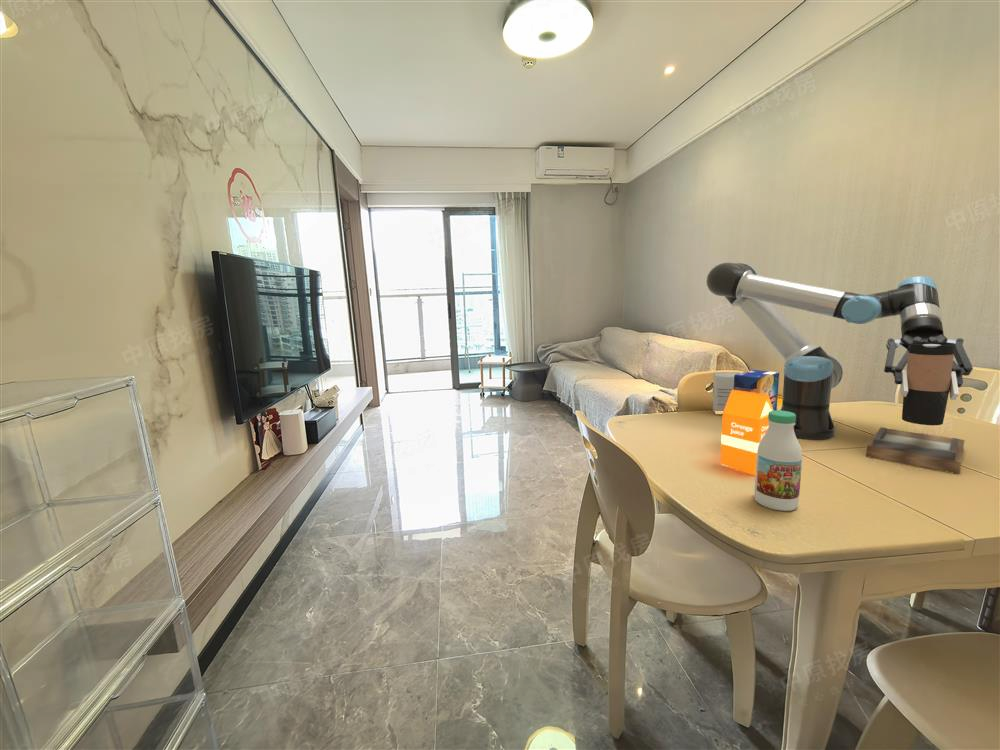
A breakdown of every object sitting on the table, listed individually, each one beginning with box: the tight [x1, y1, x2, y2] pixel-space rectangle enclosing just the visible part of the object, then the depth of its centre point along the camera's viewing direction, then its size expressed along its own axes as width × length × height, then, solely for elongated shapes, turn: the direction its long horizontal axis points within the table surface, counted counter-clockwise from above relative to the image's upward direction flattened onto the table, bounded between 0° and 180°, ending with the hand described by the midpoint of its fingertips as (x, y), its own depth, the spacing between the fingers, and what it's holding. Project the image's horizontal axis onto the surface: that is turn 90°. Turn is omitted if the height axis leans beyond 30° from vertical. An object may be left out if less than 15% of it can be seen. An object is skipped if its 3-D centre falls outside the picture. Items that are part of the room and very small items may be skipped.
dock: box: [865, 426, 966, 475], centre depth 103 cm, size 16×23×5 cm
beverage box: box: [734, 369, 780, 411], centre depth 110 cm, size 7×11×22 cm, turn 123°
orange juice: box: [719, 390, 773, 476], centre depth 99 cm, size 8×9×20 cm
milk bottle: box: [753, 409, 803, 512], centre depth 81 cm, size 8×8×20 cm
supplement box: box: [712, 371, 740, 412], centre depth 145 cm, size 9×9×15 cm
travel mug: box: [901, 342, 955, 426], centre depth 96 cm, size 8×8×20 cm
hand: (929, 395), depth 94 cm, fingers closed on travel mug, 8 cm apart
